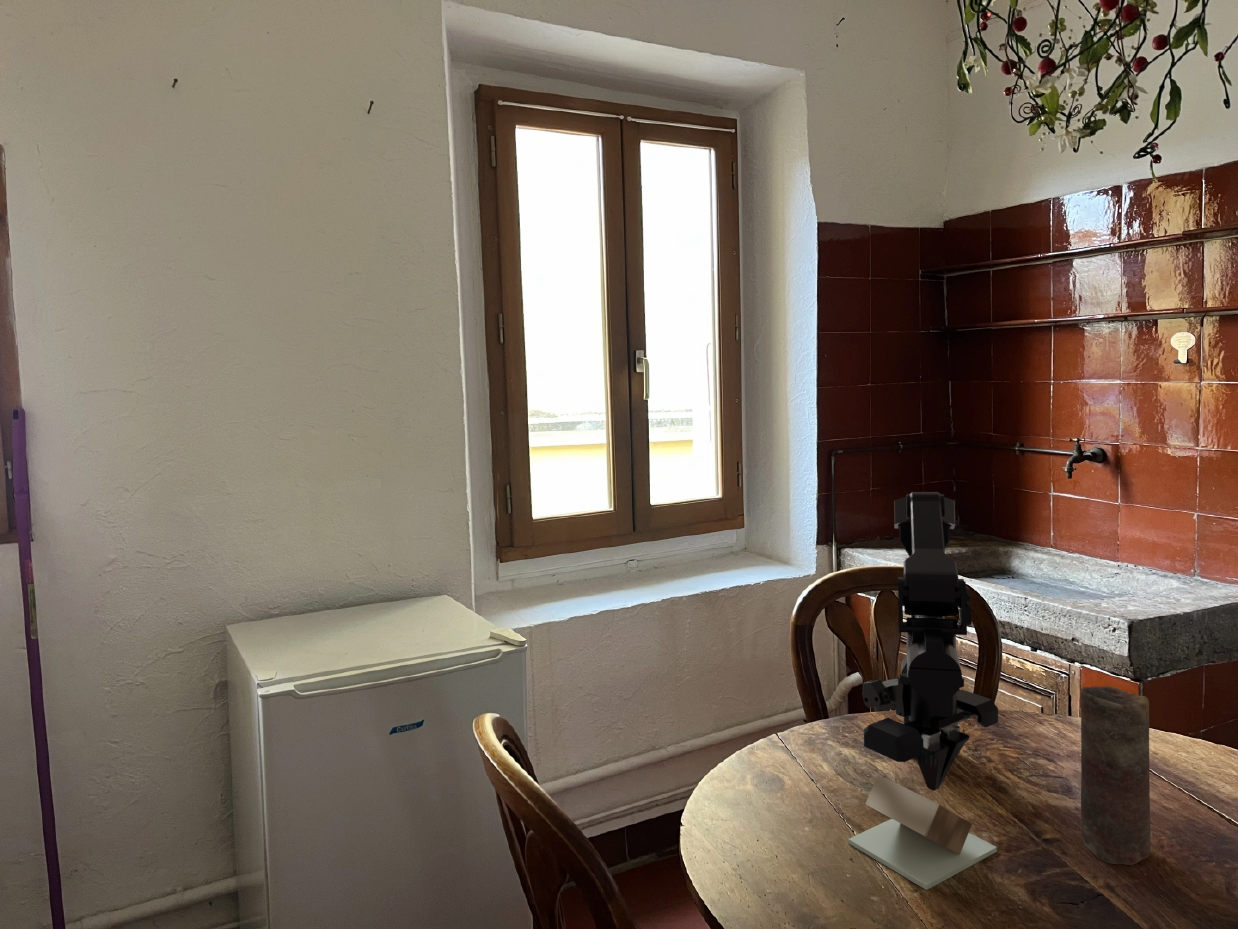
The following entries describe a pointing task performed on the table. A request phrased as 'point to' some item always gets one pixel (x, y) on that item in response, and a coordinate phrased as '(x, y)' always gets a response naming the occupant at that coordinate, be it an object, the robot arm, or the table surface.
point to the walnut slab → (919, 814)
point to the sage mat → (918, 853)
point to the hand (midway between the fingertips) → (932, 788)
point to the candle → (1115, 774)
